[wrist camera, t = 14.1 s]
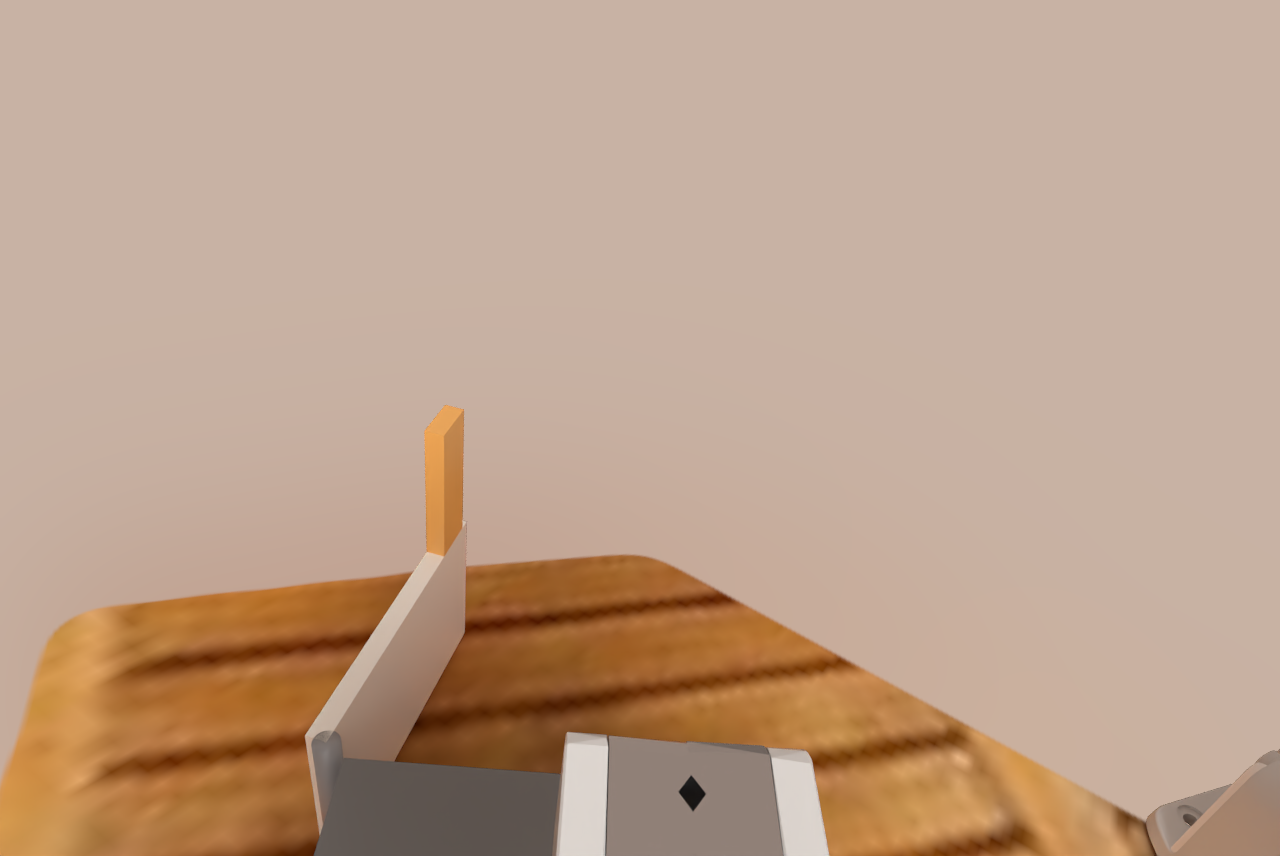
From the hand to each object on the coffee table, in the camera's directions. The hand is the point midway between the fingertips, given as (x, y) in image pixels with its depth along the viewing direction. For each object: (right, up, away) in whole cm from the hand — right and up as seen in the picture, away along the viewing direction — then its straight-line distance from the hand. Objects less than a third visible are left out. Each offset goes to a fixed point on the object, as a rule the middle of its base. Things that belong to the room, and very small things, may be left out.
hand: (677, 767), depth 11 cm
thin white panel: (-13, -13, +38) cm, 42 cm away
